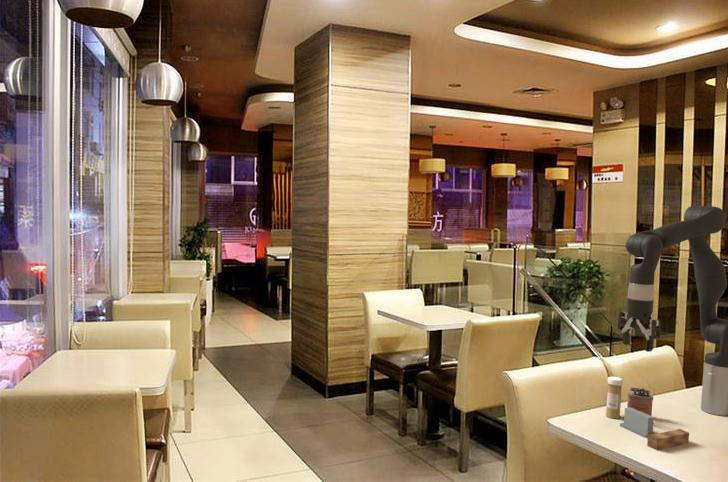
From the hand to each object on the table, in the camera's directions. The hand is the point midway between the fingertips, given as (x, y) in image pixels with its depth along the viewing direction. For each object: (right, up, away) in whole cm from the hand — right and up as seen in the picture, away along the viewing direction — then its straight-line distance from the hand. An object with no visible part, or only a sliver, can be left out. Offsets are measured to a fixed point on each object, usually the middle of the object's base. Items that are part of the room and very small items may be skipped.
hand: (637, 347), depth 184 cm
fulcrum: (+1, -27, +3) cm, 27 cm away
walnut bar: (+6, -29, -7) cm, 30 cm away
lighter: (+8, -27, +15) cm, 32 cm away
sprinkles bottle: (-2, -26, +14) cm, 30 cm away
